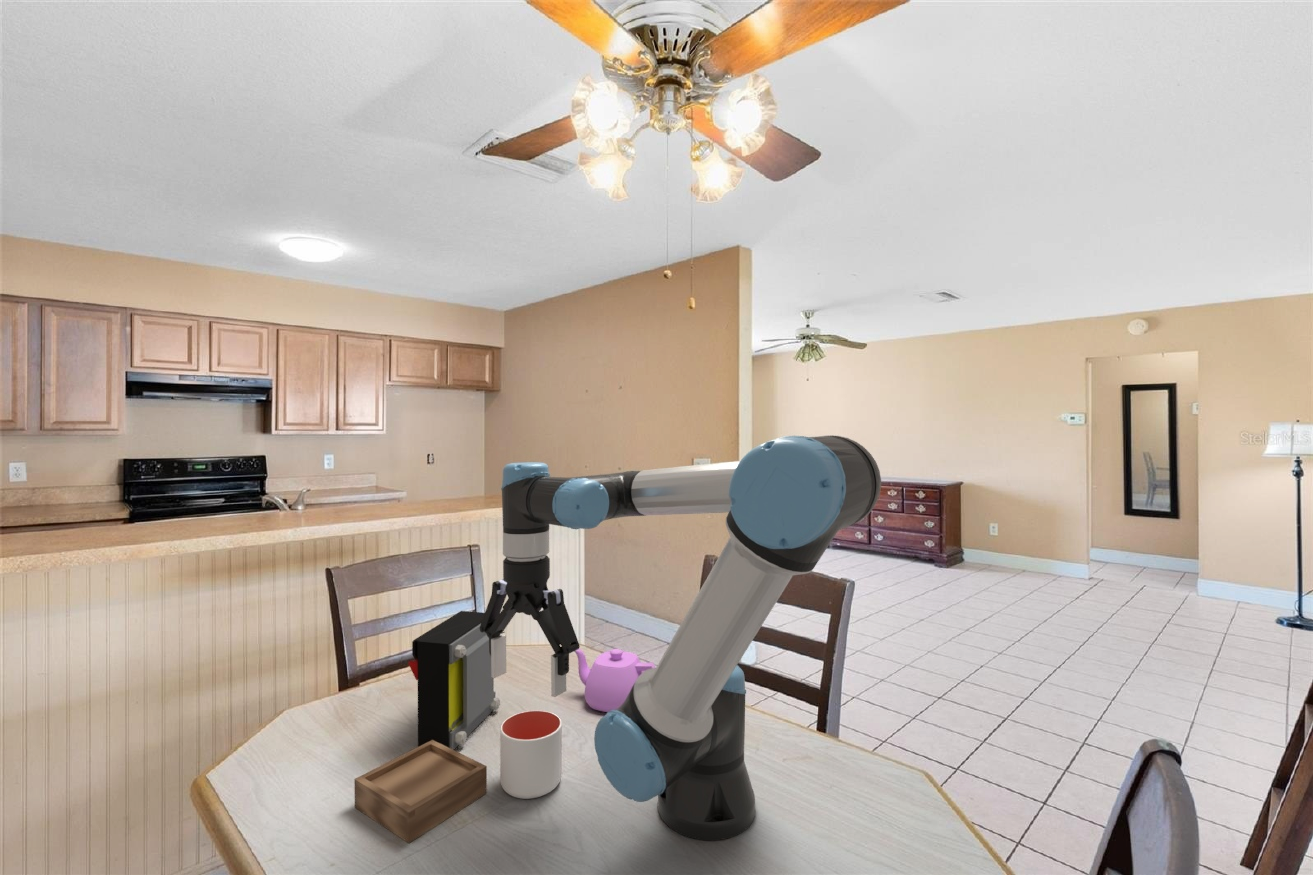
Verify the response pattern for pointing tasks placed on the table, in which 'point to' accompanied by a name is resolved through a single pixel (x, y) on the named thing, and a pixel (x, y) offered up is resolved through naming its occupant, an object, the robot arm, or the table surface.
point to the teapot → (610, 678)
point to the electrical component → (453, 679)
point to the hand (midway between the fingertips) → (527, 684)
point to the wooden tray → (420, 789)
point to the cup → (530, 754)
